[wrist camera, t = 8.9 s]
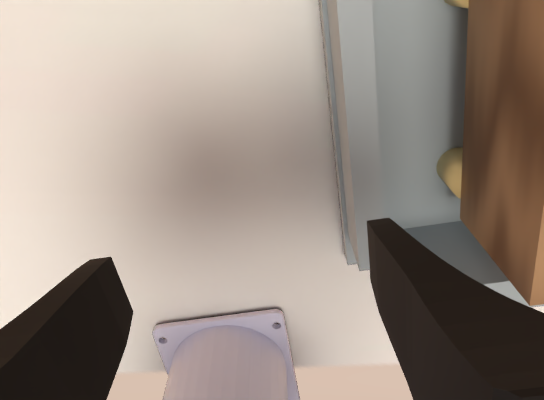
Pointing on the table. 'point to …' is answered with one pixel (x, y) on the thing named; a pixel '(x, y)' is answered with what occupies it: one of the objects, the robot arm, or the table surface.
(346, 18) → the peg stand
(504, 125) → the board
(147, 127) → the table surface
